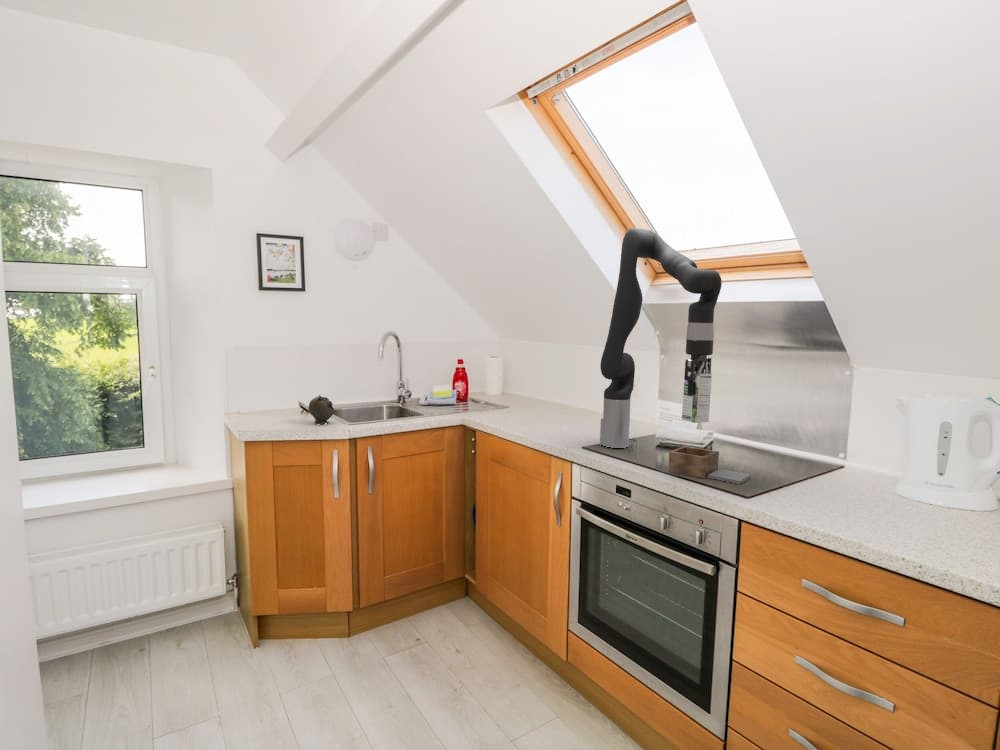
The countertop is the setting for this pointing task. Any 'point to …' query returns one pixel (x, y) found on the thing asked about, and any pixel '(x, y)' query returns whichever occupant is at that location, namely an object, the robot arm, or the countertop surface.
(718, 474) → the slate mat
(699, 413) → the syrup box
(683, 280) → the robot arm
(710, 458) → the walnut sleeve
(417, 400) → the countertop surface
